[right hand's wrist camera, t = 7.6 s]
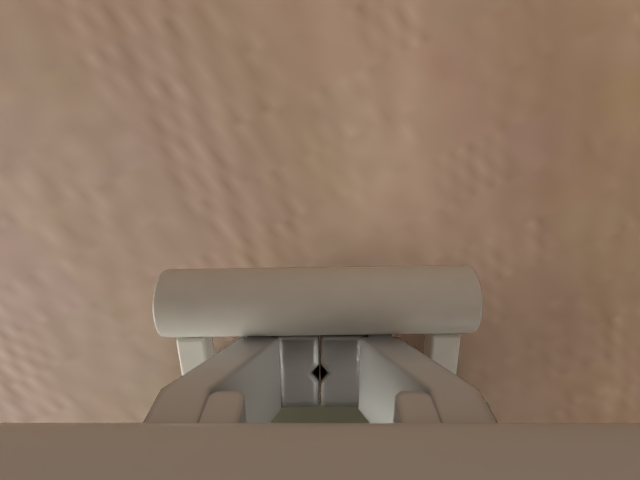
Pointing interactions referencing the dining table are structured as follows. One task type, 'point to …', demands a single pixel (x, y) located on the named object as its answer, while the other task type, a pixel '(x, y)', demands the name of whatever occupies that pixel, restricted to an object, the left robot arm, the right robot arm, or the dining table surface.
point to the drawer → (318, 311)
